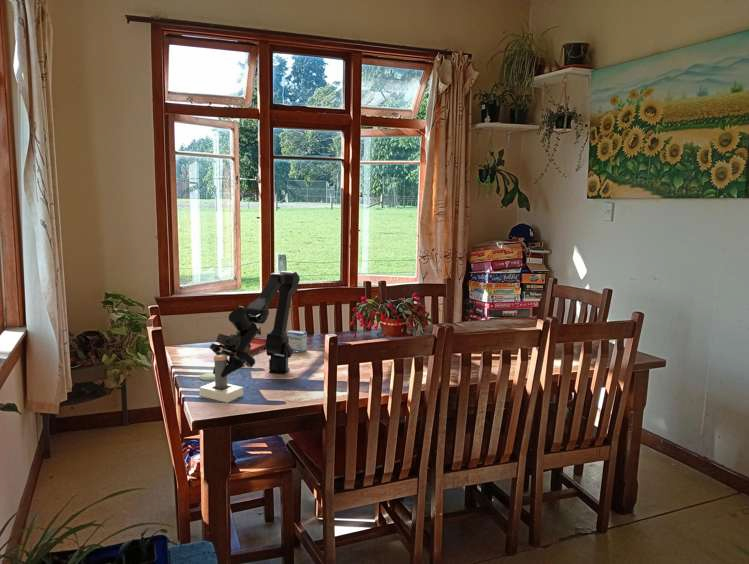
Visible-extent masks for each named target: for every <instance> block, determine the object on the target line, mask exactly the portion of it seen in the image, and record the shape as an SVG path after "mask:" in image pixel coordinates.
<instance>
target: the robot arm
mask: <svg viewBox="0 0 749 564" xmlns="http://www.w3.org/2000/svg"><path fill="white" fill-rule="evenodd" d="M300 280H301V278H300V275H299V274H298V272H296V271H288V270H280V272H278V273H277V272H272V273H270V274H269V276H268V280H267V282H266V284H264V285H265V286H264V287H263V288H262V290H261V292H260V294H259V295H258V297H257V299H256V300H253V301H252V302H250V303H249V305H248V306H247V307H246V308H245V306H241V305H239V306H238V308H235V309H234V310H232V311H231V312H230V313H229V315H228V321H229V322H230V324H232V326H233V327H234V328H235V330H236V331H238V333H237V334H236V333H235V334H230V335H228V334H223V333H218V334H217V337H216V340H215V342H212V343H211V344H210V346H209V349H210V350H211V351H212V352H213V353H214V354H215V356H216V355H227V357H228V358H227V365H226V367H225V369H224V370H223V372H222V374H221V377H225V376H227V377H228V375H230V374H232V373H233V372H235V371H237V370H239V369H240V368H244V367H245V366H247V367H249V368H251V369H252V368H253V366H254V365H255V364H256V361H255V360H256V359H255V358H254V357H253V356H252V355H251V354H249V353H248V352H245V350H246V349H247V348H250V347H251V345H250V343H251V341H252V340H253V338H254V337H255V338H256V335H259V336H261V335H262V330H261V327H260V326H258V325H257V324H265V323H266V321H267V320H268V317H269V314H270V310H269V308H270V305H271V304H272V302H273V300H274V299H275V296H276V295H277V293H278V298H277V299H278V300H277V305H276V312H275V317H274V323H273V328H272V330H271V332H270V333H269V332H268V333H267V334H266V338H265V339H266V343H265V348H264V349H265V352H266V356H267V357H268V356H269V357H270V359H269V360H268V369H269V371H268V373H269V374H270V373H271V374H280V375H281V374H284V375H285V374H287V372H288V371H290V367H289V358H291V357H292V356H293V353H294V352H293V350H292V349H291V347H290V346H289V344H288V343H289V338H288V336H287V329H288V328H287V327H288V322H289V321H288V320H289V314H290V308H291V302H292V296H293V294H294V293H295V291H297V290H298V286H299V284H300ZM219 343H221V344H219ZM222 344H224V345H222ZM225 347H226V348H227V349H226V348H225ZM212 373H213V374H214V375H215V366H214V367H213V370H212Z"/></svg>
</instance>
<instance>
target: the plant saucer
mask: <svg viewBox="0 0 749 564" xmlns="http://www.w3.org/2000/svg"><path fill="white" fill-rule="evenodd" d="M266 339H267V338H262V337H256V336H255V337H254V338H253V340H252V341H251V343H250V345H251V347H250V355H251V354H254V353H255V352H258V351H261V350H263V349H266V348H265V343H266ZM218 343H219V342H218ZM219 344H221V343H219ZM222 345H224V344H222ZM225 348H226V347H225ZM262 348H263V349H262ZM226 349H227V348H226ZM260 349H261V350H260Z"/></svg>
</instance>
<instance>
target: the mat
mask: <svg viewBox="0 0 749 564" xmlns="http://www.w3.org/2000/svg"><path fill="white" fill-rule="evenodd" d="M199 380H201V381H207V382H209V381H210V382H214V381H215V375H214V374H213V372H207V373H203V374H200V375H199Z"/></svg>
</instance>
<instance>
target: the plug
mask: <svg viewBox="0 0 749 564" xmlns="http://www.w3.org/2000/svg"><path fill="white" fill-rule="evenodd" d="M227 359H228V356H227V355H216V354H215V355H214V356H213V360H214V367H215V380H214V382H215V389H217V390H221V391H222V390H225V389H227V388H228V387H227V384H228V375H227V376H225V377H221V374H222V372H223V370H224V369H225V367H226V365H227Z"/></svg>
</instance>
